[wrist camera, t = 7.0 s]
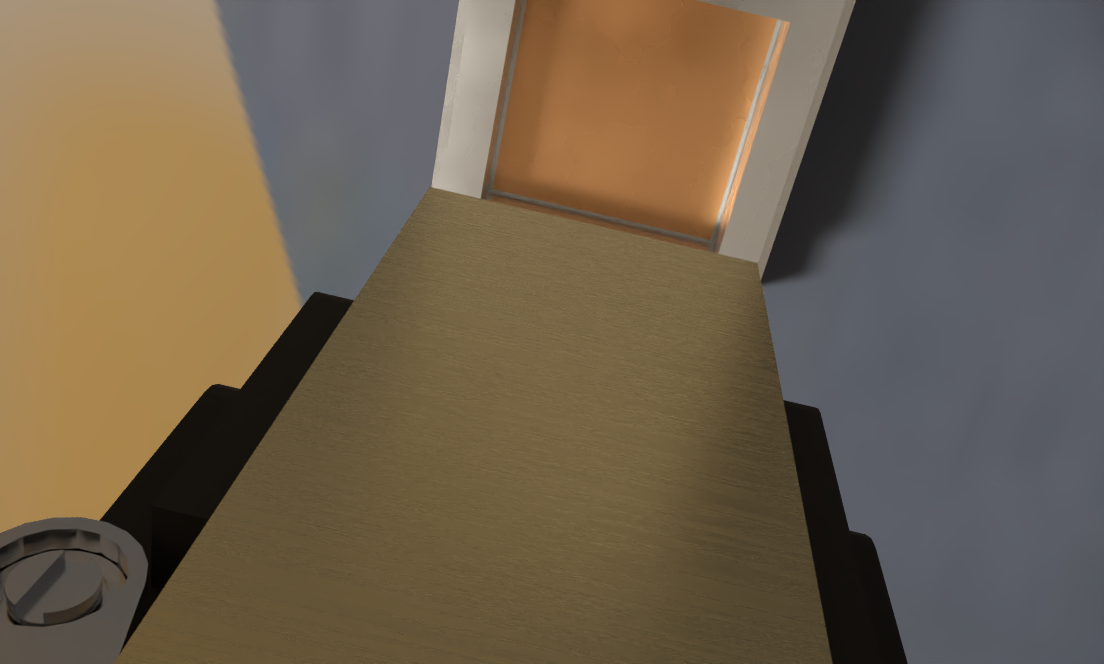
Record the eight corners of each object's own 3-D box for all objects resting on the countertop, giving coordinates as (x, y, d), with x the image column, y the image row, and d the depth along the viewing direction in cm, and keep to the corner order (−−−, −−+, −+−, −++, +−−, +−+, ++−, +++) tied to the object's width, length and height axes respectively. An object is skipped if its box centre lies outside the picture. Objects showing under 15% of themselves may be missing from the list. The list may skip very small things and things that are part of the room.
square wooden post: (430, 186, 12) (102, 682, 5) (757, 263, 12) (869, 862, 5) (389, 455, 14) (110, 1076, 7) (671, 521, 14) (669, 1207, 7)
